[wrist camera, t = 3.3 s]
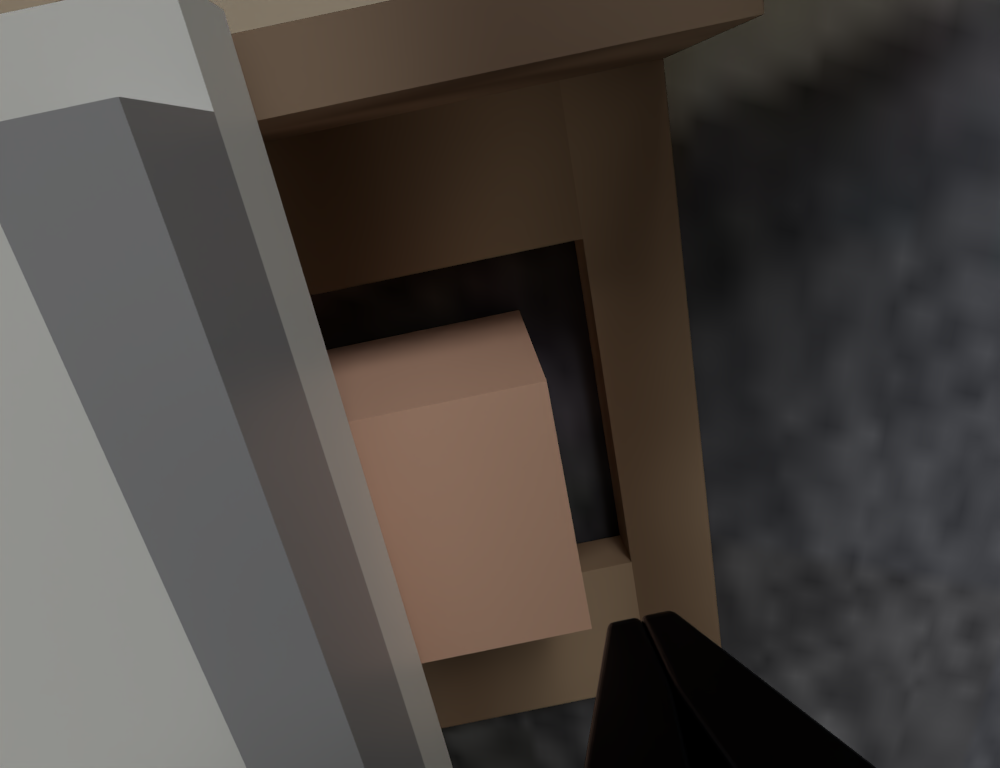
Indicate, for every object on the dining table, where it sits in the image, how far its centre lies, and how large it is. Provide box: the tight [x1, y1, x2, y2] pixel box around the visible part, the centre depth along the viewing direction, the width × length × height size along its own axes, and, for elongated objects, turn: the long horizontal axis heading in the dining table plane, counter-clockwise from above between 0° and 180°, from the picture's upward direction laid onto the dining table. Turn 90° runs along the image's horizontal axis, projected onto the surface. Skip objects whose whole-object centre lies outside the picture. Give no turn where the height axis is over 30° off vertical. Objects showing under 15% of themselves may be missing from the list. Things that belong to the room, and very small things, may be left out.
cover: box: [0, 0, 453, 768], centre depth 9 cm, size 10×16×4 cm, turn 11°
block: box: [327, 310, 592, 664], centre depth 14 cm, size 5×5×5 cm
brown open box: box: [231, 0, 764, 728], centre depth 13 cm, size 20×16×6 cm
